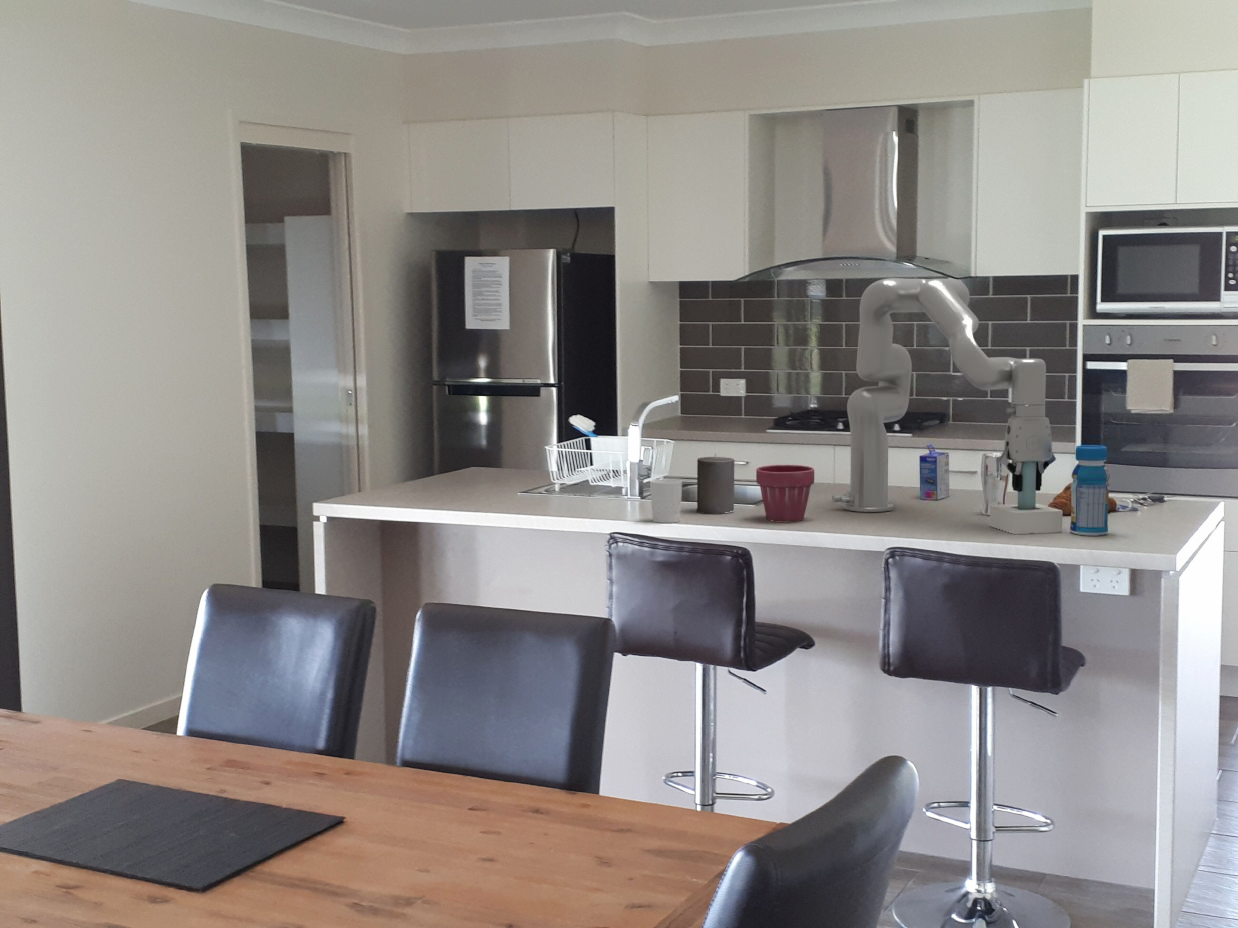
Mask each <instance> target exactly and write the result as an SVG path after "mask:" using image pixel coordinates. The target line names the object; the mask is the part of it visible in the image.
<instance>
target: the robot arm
mask: <svg viewBox="0 0 1238 928" xmlns="http://www.w3.org/2000/svg"><path fill="white" fill-rule="evenodd" d="M970 300H971V299H970V291H969V289H968V287H967V286H966V284H965V283H964V282H962V281H961V280H959V279H956V278H931V279H930V278H904V277H903V278H902V277H891V278H889V277H888V278H883V279H879V280H876V281H874V282H873V283H871V284H870V285H869V286H867V287H866V288H865V290H864V291H863V293H862V295H861V298H860V301H859V303H860V304H859V331H858V341H857V342H858V343H857V355H856V373H857V375H858V377H859V378H860V379H862V380H863V381H867V382H878V385H876V386H875V385H874V386H864V387H860V388H858V389H856V390H854V391H853V392H852V393H851V394H850V396H849V397H848V400H847V403H846V410H847V418H848V422H849V432H850V490H846V493H844V494H833V495H831V500H832V503H844V505H843V509H845V510H847V511H852V512H858V513H860V512H861V513H880V512H881V513H882V512H883V513H884V512H890V511H893V510H894V507H895V506H894V504H893V503H890V502H888V501H889V500H888V497H889V495H888V493H889V492H888V491H889V489H888V488H889V485H888V484H889V437H888V432H887V430H886V427H885V425H884V423H891V422H896V421H898V420H901V419H902V418H903V417H904V416H905V414H906V412H907V411H908V407H909V401H910V394H911V393H910V392H911V380H912V370H913V365H912V364H913V363H912V359H911V355H910V353H909V352H908V350H907V349H906V348H905V347H904V346H903V345H901V344H897V343H893V338H894V337H893V336H894V324H893V321H892V317H891V316H890V315H891V314H893V313H924V314H926V315H927V317H928V318H929V319H930V321H932V322H933V324H934V325H935V326H936V327H937V328H938V330H939V331H940V332H941V333H942V334H943V336H944V337H945V339H946V340H948V342H949V350H950V354H951V358H952V361H953V363H954V364H955V366H956V368H957V369H958V370H959V371H960V373H961V374H962V375H963V376H964V377H965V379H966V380H967V381H968V383H970V384H971V385H972V386H974V387H975V388H977V389H978V390H981V391H993V390H1008V389H1011V397H1010V398H1011V402H1010V403H1011V404H1010V407H1006V409H1005V411H1006V414H1009V415H1010V417H1009V418H1008V421H1007V423H1006V424H1007V425H1006V427H1005V428H1006V430H1005V435H1004V436H1005V437H1004V449H1003V452H1002V453H1001V454H1002V455H1001V457H1000V458H999V460H998V461H999V462H1000V463H1001V464H1002V465H1004V466H1006V468H1007V469H1008V470H1009V471H1010V474H1011V487H1012V490H1013V491H1015V492H1017V493H1018V492H1021V491H1022V475H1021V474H1020V471H1021V466H1022V462H1029V461H1036V492H1040V491H1041V490H1042V489H1041V487H1042V486H1043V483H1042V482H1043V474H1044V473H1045V470H1047V468H1048V467H1049V466H1050V465H1051V464H1052V463H1054V462H1056V460H1057V458H1056V456H1055V455H1054V453H1053V441H1052V439H1053V438H1052V430H1051V424H1050V419H1049V417H1046V388H1047V386H1046V380H1047V373H1046V372H1047V365H1046V362H1045V360H1043V359H1041V358H1016V357H1009V356H996V357H993V356H992V357H988V356H987V355H986V353H985V352H984V351H983V350H982V349H981V347H980V346H979V345H978V344H977V342H976V339H975V338H974V333H975V332H976V331H977V329H978V327H979V325H980V324H979V323H980V321H979V319H978V317H977V316H976V314H975V313H974V312H973V310H971V309H970V308H969V306H968V305H969V302H970ZM1008 460H1010V461H1011V462H1009V461H1008Z"/></svg>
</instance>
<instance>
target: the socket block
mask: <svg viewBox="0 0 1238 928" xmlns="http://www.w3.org/2000/svg"><path fill="white" fill-rule="evenodd" d="M988 522H989V524H988V525H989V527H990V526H991V528H993V527H994V529H996V528H997V529H996V530H999V529H1000V530H999V531H1002V530H1003V532H1005V531H1006V533H1008V532H1009V533H1008V534H1011V533H1012V534H1011V535H1031V534H1030V533H1034V534H1046V533H1047V534H1051V533H1053V534H1054V533H1055V534H1056V533H1063V511H1062V510H1058V509H1055V508H1051V507H1048V505H1043V504H1040V503H1036V508H1035V510H1018V503H1016V504H1012V503H1011V504H1006V505H990V516H989V521H988Z"/></svg>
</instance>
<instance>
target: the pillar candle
mask: <svg viewBox="0 0 1238 928" xmlns="http://www.w3.org/2000/svg"><path fill="white" fill-rule="evenodd" d="M696 461H697V466H696V467H697V468H696V470H697V471H696V472H697V474H696V475H697V477H696V480H697V481H696V485H697V487H696V488H697V489H696V490H697V491H696V505H697V506H696V507H697V508H696V512H697V513H699V514H700V513H701V514H708V515H719V514H718V513H725V512H730V511H733V510H734V511H735V459H734V458H731V457H725V456H717V454H716V453H715V454H714V456H702V457H698V458H697V460H696Z"/></svg>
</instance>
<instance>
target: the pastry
mask: <svg viewBox="0 0 1238 928" xmlns="http://www.w3.org/2000/svg"><path fill="white" fill-rule="evenodd" d="M1071 484H1072V482H1069V483H1068V484H1067V485H1066V486H1064V488H1063V489H1062V491H1061V492H1060V493H1057V495H1055V497H1053V500H1052V501H1051V502H1049V504H1048V505H1047V507H1051V508H1055V509H1058V510H1062V511H1063V515H1064V516H1065V515H1068V516H1069V515H1071V500H1072V492H1071ZM1117 507H1118V505H1117V502H1116V500H1115V498H1114V497H1110V496H1109V497H1108V513H1112V512H1114V511H1116V509H1117ZM1063 515H1062V516H1063Z"/></svg>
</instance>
